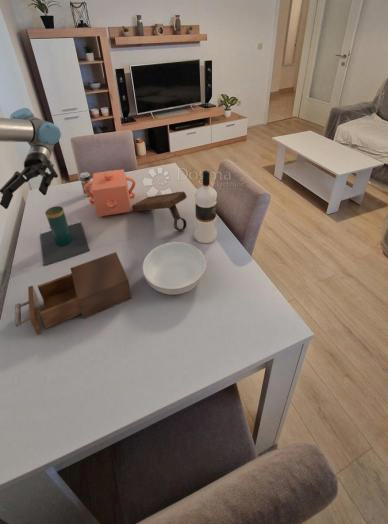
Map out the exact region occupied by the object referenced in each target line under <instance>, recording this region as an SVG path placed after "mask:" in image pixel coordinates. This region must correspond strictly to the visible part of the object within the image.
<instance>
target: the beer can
mask: <svg viewBox="0 0 388 524" xmlns="http://www.w3.org/2000/svg"><path fill="white" fill-rule="evenodd" d="M79 179H80V184H81V188H82V191H83V195H84V197H90V196H89V195H87V194H86V192H85V190H84V187H85V185H86V184H87V183H89V182H92V178H91V175H90V172H88V171H83V172H80V174H79ZM87 189H88V191H89V192H90V193H92V194H93V192H92V185H90V186H89V187H88V188H87Z"/></svg>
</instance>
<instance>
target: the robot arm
mask: <svg viewBox="0 0 388 524" xmlns="http://www.w3.org/2000/svg"><path fill="white" fill-rule="evenodd" d="M61 135H62V133H61V130H60V128H59V127H58V125H56V124H55V123H52V122H51V121H47V120H43V119H41V118H39V117H36V116H35V115H34V113H33V112H32V111H31V109H30V108H28V107H22V108H19V109H17V110H15V111H13V112H12V113H11V114H10V115H9V117H0V143H27V144H28V145H29V146H30V148H29V150H28V152H27V154H26V156H25V159H24V161H23V167H24V168H23V170H22V171H20V172H19V171H17V170H16V171H15V172H14V173H13V175H12V176H11V177H10V179H8V181H6V183H5V184H4V185H3V186H2V187H1V188H0V194H1V195H2V196H1V200H0V206H1V207H3V208H4V209H5V210H8V209H9V207H10V205H11V202H12V200H13V197H14V193H15V192H16V191H17V190H18V189H19V188H20V187H22V186H23V185H24V184H25V183H29V181H31V179H35V178H37V177H39V176H41V177H42V178H41V181H40V183H39V187H38V191H39V192H40V193H41V194H42V195H43V196H46V195H47V194H48V190H49V186H51V184H52V181H53V180H54V178H55V179H57V178H58V177H59V175H58V173H57V171H56V170H55V168H54V165H55V164H54V163H53V162H52V161H51V160H50V159H51V156H52V153H53V151H54V148H55V144H57V143H58V142H59V141H60V140H61ZM47 169H48V171H49V172H48V171H47Z"/></svg>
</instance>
